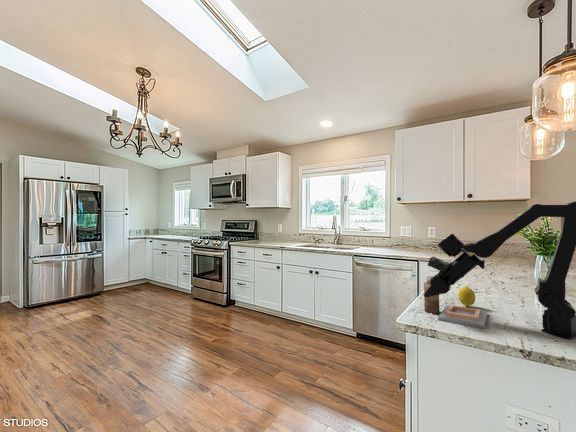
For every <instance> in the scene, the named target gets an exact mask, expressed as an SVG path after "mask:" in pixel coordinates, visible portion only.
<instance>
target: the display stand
mask: <svg viewBox="0 0 576 432" xmlns="http://www.w3.org/2000/svg"><path fill="white" fill-rule="evenodd" d="M487 319H488V311H487V310H483V309H479V308H472V307H466V306H459V305H454V304H449V305H448V304H446V305H445V306H444V308H443V310H441V311H440V313H439V315H438V317H437V321H440V320H441V321H440V322H446V323H452V324H457V325H462V326H463V325H464V326H467V327H474V328H479V329H485V328H486V324H487V323H486V322H487Z"/></svg>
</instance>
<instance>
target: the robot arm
mask: <svg viewBox="0 0 576 432" xmlns="http://www.w3.org/2000/svg"><path fill="white" fill-rule="evenodd" d="M541 217H542V218H543V217H544V218H545V217H547V218H549V217H550V218H560V233H559V236H558V240H557V244H556V246H555V250H554V253H553V256H552V259H551V261H550V266H549V268H548V271H547V275H546V276H545V277H544V278H543V279H542V278H541V277H537V283H536V286H535V288H534V292H535V295H536V296H537V299H538V302H539V304H540V305H541V306H542V307H544V308H546V309H544V310H543V313H542V316H541V317H542V328H541V332H544V333H546V334H550V335H554V336H557V337H560V338H563V339H566V340H571V339H573V338H576V309H575V308H574V307H573V305H572V303H570V302H569V301H568V300H567V299H566V280H567V275H568V273H569V269H570V266H571V263H572V259H573V256H574V253H575V251H576V201H571V202H568V203H566V204H542V203H540V204H539V203H536V204H532V205H531V206H529V208H528V209H527V210H525V211H523V212H522V213H521V214H519V215H518V216H516V217H515V218H513V219H512V220H511V221H510V222H508V223H506V225H504V226H503V227H501V228H500V229H498V230H497V231H495V232H493V233H491V234H489V235H486V236H484V237H483V238H481V239H479V240H477V241H475V242H471V243H469V242H467V243H464V242H463V241H462V240H460V239H459V238H458V237H457V236H456V235H455V233H450V234H449V235H448V236H447V237H446V238H444V239H442V240H441V241H440V242H439V243H438V244H437V247H438V248H439V249H441V251H442V252H443V253H445V254H446V256H448V257H449V258H451V257H453V258H455V257H456V256H458V255H459V254H460V255H459V256H458V257H456V258H455V259H454V260H453V261H450V262H449V263H448V262H446V261H444V260H442V259H440V258H438V257H436V256H431V257H430V259H429V260H428V262H427V264H426V266H427V267H429V268H432V269H434V270H437V271H438V273H437V274H435V275H434V276H433V278H431V280H430V282H431V286H430V287H429V289H428V290H427V291H426V292H425V294H424V293H423V298H424V297H430V296H435V295H439V296H440V295H445V294H447V293H448V292H449V291H450V290H451V289H452V286H454V285H455V284H456V283H457V282H459V280H461V279H462V278H464V277H465V276H466V275H467V274H468V273H470V272H471V271H472V270H473V269H475V268H476V267H477V266H478V267H479V268H481V270H484V269H485V267H486V266H485V262H486V259H487V258H489V257H491V256H492V255H493V254H494V253H495V252H496V251H498V249H499V248H500V247H501V246H502V245H503V244H504V243H505V242H506V241H507V240H509V239H510V238H512V237H513V236H515V235H516V234H518V233H519V232H521V231H522V230H523V229H525V228H526V227H528V226H529V225H530V224H532V223H534V222H535V221H536V220H538V219H539V218H541ZM470 253H471V254H470ZM480 258H483V259H480Z"/></svg>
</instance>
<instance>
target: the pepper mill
mask: <svg viewBox="0 0 576 432" xmlns="http://www.w3.org/2000/svg"><path fill="white" fill-rule="evenodd" d="M433 277H434V276H432V275H428V276H426V282H423V295H424V294H425V292H426V291H427V290H428V289H429V287H430V286H431V282H430V280H431V278H433ZM423 301H424V303H423V304H424V306H423V307H424V313H426V314H430V313H432V315H438V313H439V314H441V310H440V294H439V295H435V296H430V297H424V296H423Z"/></svg>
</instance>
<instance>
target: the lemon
mask: <svg viewBox="0 0 576 432" xmlns="http://www.w3.org/2000/svg"><path fill="white" fill-rule="evenodd" d="M458 301H459V302H460V303H461V305H463V306H464V307H467V308H470V306H472V305H474V304H475V302H476V295H475V292H474V290H473V289H472V288H471V287H469V286H464V287H461V288H460V289H459V291H458Z"/></svg>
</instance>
